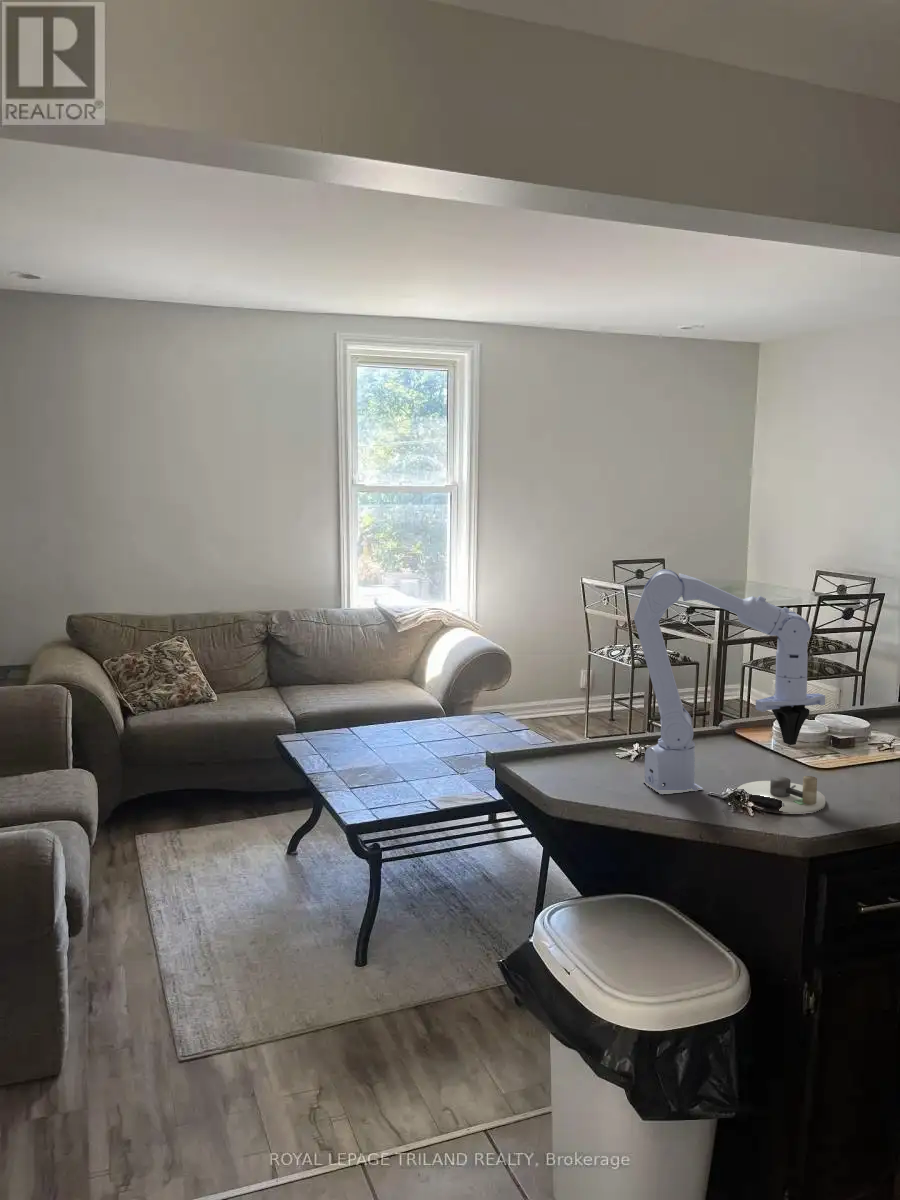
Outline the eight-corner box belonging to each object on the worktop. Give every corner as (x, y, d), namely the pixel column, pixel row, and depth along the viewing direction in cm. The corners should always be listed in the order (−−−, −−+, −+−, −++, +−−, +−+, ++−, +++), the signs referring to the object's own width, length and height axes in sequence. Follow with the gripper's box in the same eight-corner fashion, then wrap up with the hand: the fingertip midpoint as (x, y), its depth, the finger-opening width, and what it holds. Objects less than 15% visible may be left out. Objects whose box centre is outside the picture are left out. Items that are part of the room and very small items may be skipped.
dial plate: (768, 819, 156) (768, 812, 156) (720, 790, 172) (720, 784, 171) (844, 809, 160) (844, 803, 160) (790, 782, 175) (790, 776, 175)
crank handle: (766, 792, 166) (766, 768, 166) (778, 789, 168) (779, 764, 167) (808, 807, 158) (809, 781, 157) (821, 803, 160) (822, 778, 159)
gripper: (808, 668, 173) (806, 734, 174) (746, 674, 169) (745, 741, 170) (833, 675, 166) (831, 743, 167) (769, 681, 162) (767, 751, 163)
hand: (789, 743), depth 168 cm, fingers closed
